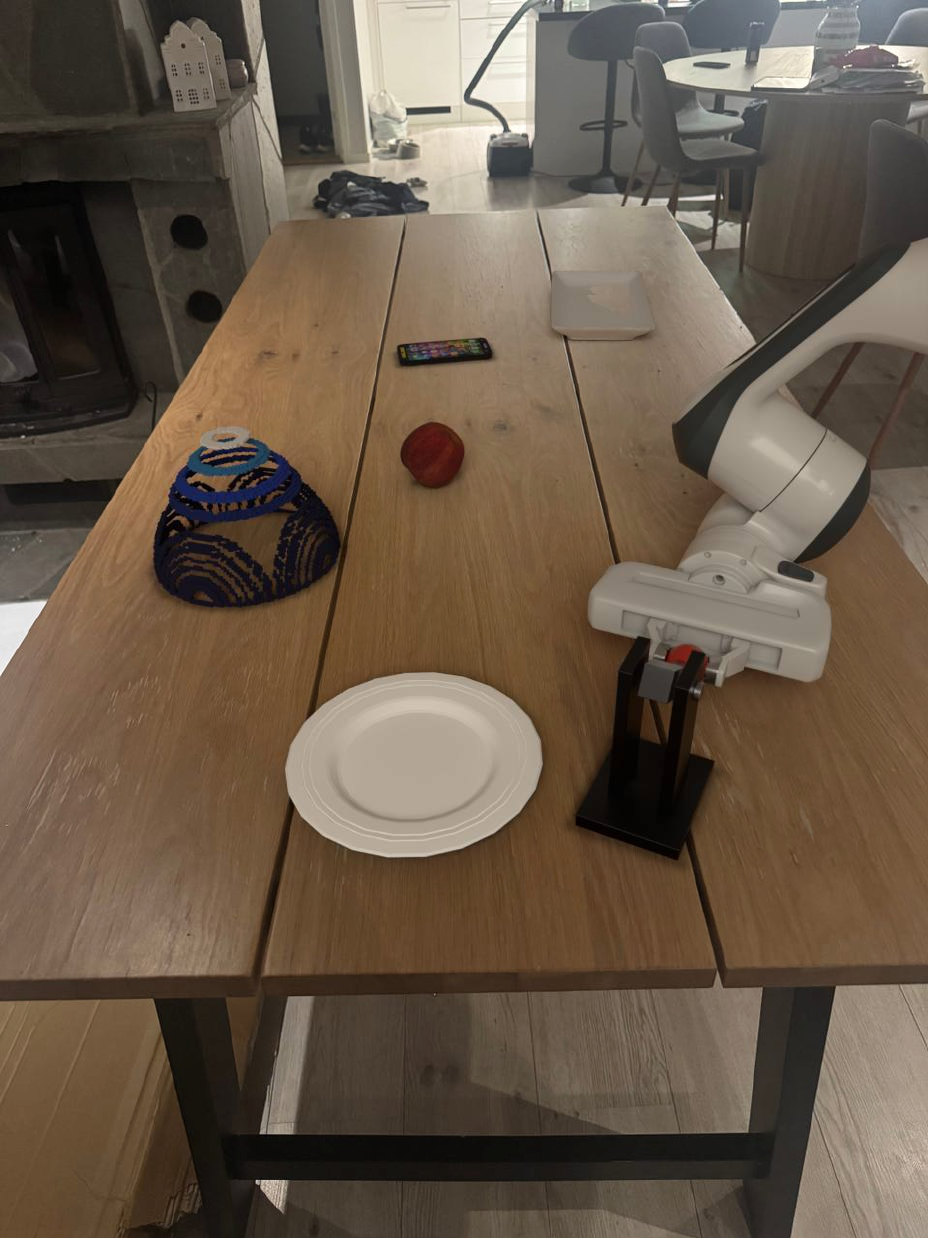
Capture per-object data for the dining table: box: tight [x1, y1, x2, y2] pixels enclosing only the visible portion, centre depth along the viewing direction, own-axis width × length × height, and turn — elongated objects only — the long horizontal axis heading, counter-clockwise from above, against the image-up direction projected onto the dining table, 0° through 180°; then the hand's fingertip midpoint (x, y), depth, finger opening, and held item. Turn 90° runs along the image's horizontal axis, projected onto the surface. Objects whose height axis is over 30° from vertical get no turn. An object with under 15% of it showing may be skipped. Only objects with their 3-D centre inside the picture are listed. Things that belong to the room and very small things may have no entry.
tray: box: [550, 270, 656, 341], centre depth 162 cm, size 17×32×4 cm, turn 175°
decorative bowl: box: [152, 425, 342, 609], centre depth 99 cm, size 20×20×14 cm
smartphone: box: [396, 337, 493, 366], centre depth 150 cm, size 8×1×15 cm
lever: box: [637, 644, 709, 705], centre depth 70 cm, size 13×3×3 cm, turn 153°
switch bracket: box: [575, 636, 716, 862], centre depth 69 cm, size 10×8×14 cm
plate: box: [284, 671, 544, 860], centre depth 76 cm, size 21×21×2 cm
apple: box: [399, 421, 466, 488], centre depth 113 cm, size 7×8×8 cm
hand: (683, 671), depth 74 cm, fingers closed on lever, 3 cm apart
